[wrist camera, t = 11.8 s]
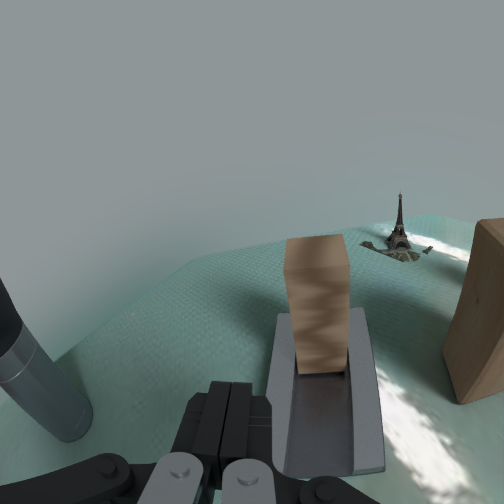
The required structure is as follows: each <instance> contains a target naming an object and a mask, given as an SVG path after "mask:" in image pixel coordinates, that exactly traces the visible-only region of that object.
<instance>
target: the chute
mask: <svg viewBox="0 0 504 504" xmlns="http://www.w3.org/2000/svg"><path fill="white" fill-rule="evenodd" d="M265 396H266V397H267V399H268V400H269V402H270V403H271V405H272V461H273V464H274V466H275V468H276V469H277V470H278V471H279V472H280V473H281V474H283V475H285V476H287V477H290V478H315V477H319V476H334V477H347V476H357V475H366V474H373V473H380V472H385V450H384V436H383V425H382V415H381V406H380V397H379V390H378V383H377V376H376V369H375V363H374V357H373V351H372V345H371V340H370V335H369V330H368V325H367V320H366V318H365V313H364V308H363V307H359V308H349V332H348V349H347V362H346V371H341V372H327V373H309V374H299V373H298V365H297V358H296V350H295V343H294V336H293V329H292V322H291V315H290V313H278V317H277V324H276V329H275V336H274V343H273V350H272V357H271V363H270V370H269V376H268V382H267V389H266V395H265Z"/></svg>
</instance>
